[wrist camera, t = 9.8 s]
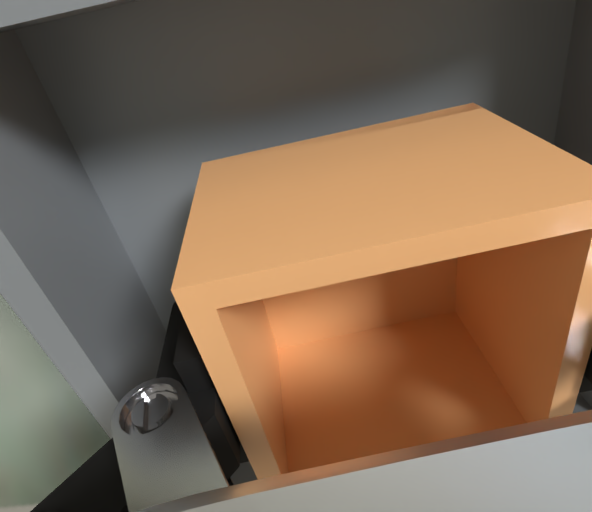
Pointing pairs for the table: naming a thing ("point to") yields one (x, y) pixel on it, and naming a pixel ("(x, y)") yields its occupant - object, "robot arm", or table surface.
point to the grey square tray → (223, 134)
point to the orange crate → (390, 286)
